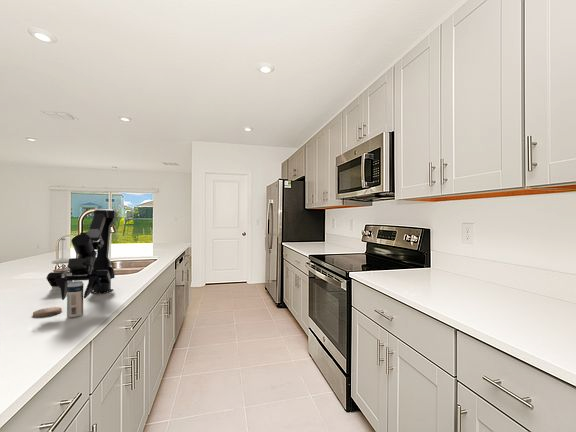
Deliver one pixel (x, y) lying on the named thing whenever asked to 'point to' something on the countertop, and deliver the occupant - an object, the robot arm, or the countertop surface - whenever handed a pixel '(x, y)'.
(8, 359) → the countertop surface
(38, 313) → the walnut coaster
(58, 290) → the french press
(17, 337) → the countertop surface
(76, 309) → the beer can
